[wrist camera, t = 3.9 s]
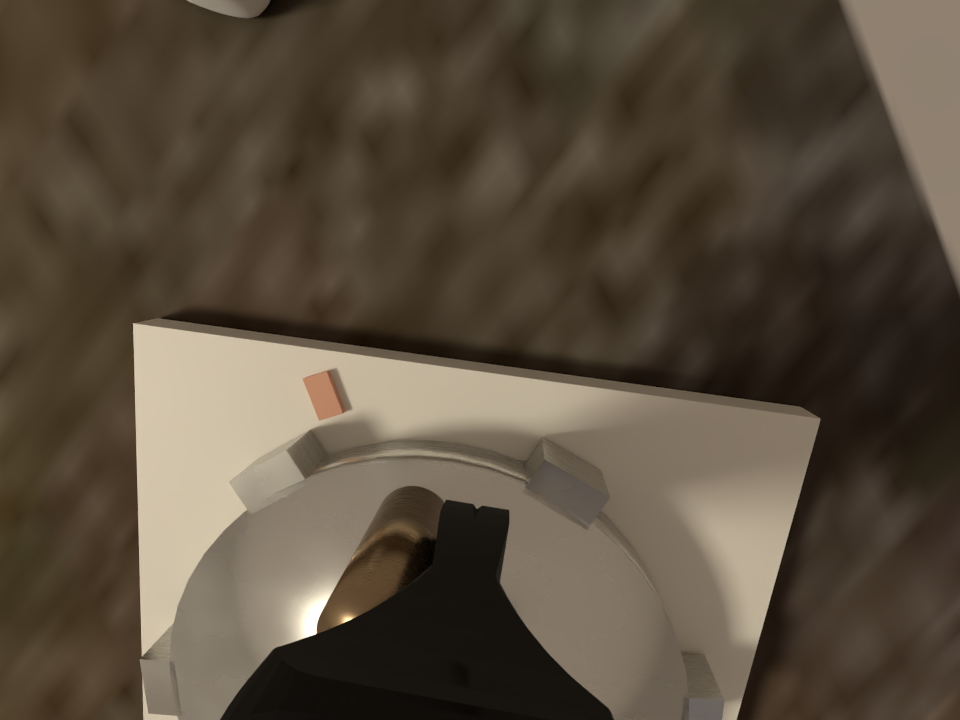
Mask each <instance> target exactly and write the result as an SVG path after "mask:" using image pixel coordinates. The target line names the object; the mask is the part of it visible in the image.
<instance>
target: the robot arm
mask: <svg viewBox="0 0 960 720" xmlns="http://www.w3.org/2000/svg"><path fill="white" fill-rule="evenodd" d="M508 529H509V510H507V509H501V508H495V507H489V506H483V505H482V506H481V507H479V508H478V509H476V507H475V506H474V504H470V503H464V502H458V501H452V500H446V501H445V503H444V504H443V506H442V509H441V511H440V517H439V523H438V530H437V537H436V544H435V551H434V558H433V563H432V565H431V566H430V567H429V568H428V569H427V570H425V571H424V572H423V573H422V574H421V575H420V576H418V577H417V578H416V579H415V580H414V581H412V582H411V583H410V584H408V585H407V586H406V587H404V588H403V589H402V590H400V591H399V592H397V593H396V594H394V595H393V596H391V597H390V598H388V599H387V600H385V601H384V602H382V603H381V604H379V605H377V606H376V607H374V608H373V609H371V610H369V611H367V612H365V613H363V614H361V615H359V616H357V617H355V618H353V619H351V620H349V621H347V622H344V623H342V624H340V625H338V626H335V627H333V628H331V629H328V630H326V631H323V632H321V633H318V634H315V635H312V636H309V637H306V638H303V639H300V640H298V641H295V642H292V643H289V644H286V645H283V646H279V647H276V648H274V649H273V650H272V651H271V652H270V654H269V655H268V656H267V657H266V658H265V660H264V661H263V662H262V663H261V664H260V666H259V667H258V668H257V669H256V670H255V672H254V673H253V674H252V675H251V677H250V678H249V679H248V680H247V681H246V683H245V684H244V685H243V686H242V688H241V689H240V690H239V692H238V693H237V694H236V696H235V697H234V699H233V700H232V702H231V703H230V704H229V706H228V707H227V709H226V711H225V712H224V714H223V716H222V717H221V719H220V720H614V718H613V716H612V713H611V711H610V710H609V708H608V707H607V706H605V705H604V704H603V703H602V702H601V701H599V700H598V699H597V698H596V697H595V696H594V695H592V694H591V693H590V692H589V691H588V690H587V689H585V688H584V687H583V686H582V685H581V684H579V683H578V682H577V681H576V680H575V679H574V678H572V677H571V676H570V675H569V674H568V673H567V672H566V671H565V670H564V669H563V668H562V667H561V666H560V665H559V664H558V663H557V662H556V661H555V660H554V659H553V658H552V657H551V656H550V654H549V653H548V652H547V651H546V650H545V649H544V648H543V646H542V645H541V644H540V643H539V641H538V640H537V639H536V638H535V637H534V635H533V634H532V633H531V632H530V630H529V629H528V628H527V626H526V625H525V624H524V622H523V621H522V619H521V618H520V616H519V615H518V613H517V612H516V610H515V608H514V607H513V605H512V604H511V602H510V600H509V599H508V597H507V595H506V593H505V591H504V590H503V588H502V586H501V584H500V578H501V572H502V566H503V560H504V554H505V548H506V541H507V535H508Z"/></svg>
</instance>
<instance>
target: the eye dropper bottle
mask: <svg viewBox="0 0 960 720" xmlns="http://www.w3.org/2000/svg"><path fill="white" fill-rule="evenodd" d="M187 1H189V2H191V3H194V4H196V5H198V6H201V7H203V8H206V9H209V10H211V11H215V12H218V13H221V14H225V15H230V16H234V17H240V18H252V17H256V16H259V15H260V14H261V13H262V12H263V11H264V10H265V9H266V8H267V6H268V4H269V3H270V1H271V0H187Z"/></svg>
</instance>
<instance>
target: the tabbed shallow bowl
mask: <svg viewBox="0 0 960 720" xmlns="http://www.w3.org/2000/svg"><path fill="white" fill-rule="evenodd" d="M229 484H230V485H231V487H232V488H233V489H234V491H235V492H236V494H237V495H238V497H239V498H240V500H241V501H242V503H243V504H244V505H245V507H246V508H247V509H246V510H245V511H244V512H243V513H242V514H241V515H240V516H239V517H238V518H237V519H236V520H234V521H233V522H232V523H231V524H230V525H229V526H228V527H227V528H226V529H225V530H224V531H223V532H222V533H221V535H220V536H219V537H218V538H217V539H216V540H215V542H214V543H213V544H212V545H211V546H210V547H209V549H208V550H207V551H206V552H205V553H204V555H203V556H202V558H201V560H200V561H199V563H198V565H197V566H196V568H195V569H194V571H193V573H192V574H191V576H190V578H189V579H188V582H187V584H186V587H185V589H184V592H183V594H182V597H181V599H180V601H179V604H178V607H177V611H176V615H175V620H174V623H173V624H172V625H171V626H170V627H169V628H168V629H167V630H166V631H165V633H164V634H163V635H162V636H161V637H160V638H159V639H158V640H157V641H156V642H155V643H154V644H153V645H152V647H151V648H150V649H149V650H148V651H147V652H146V653H145V654H144V655H143V656H142V657H141V658H140V664H141V671H142V677H143V683H144V689H145V696H146V702H147V708H148V714H159V715H172V716H177V717H178V720H220V719H221V717H222V716H223V714H224V712H225V711H226V709H227V707H228V706H229V704H230V703H231V702H232V700H233V699H234V697H235V696H236V694H237V693H238V692H239V690H240V689H241V688H242V686H243V685H244V684H245V683H246V681H247V680H248V679H249V678H250V677H251V675H252V674H253V673H254V672H255V670H256V669H257V668H258V667H259V666H260V664H261V663H262V662H263V661H264V660H265V658H266V657H267V656H268V655H269V654H270V652H271V651H272V650H273V649H274V648H276V647H279V646H283V645H286V644H289V643H292V642H295V641H298V640H300V639H303V638H306V637H309V636H312V635H315V634H318V633H321V632H323V631H326V630H328V629H331V628H333V627H335V626H338V625H340V624H342V623H344V622H347V621H349V620H351V619H353V618H355V617H357V616H359V615H361V614H363V613H365V612H367V611H369V610H371V609H373V608H374V607H376V606H377V605H379V604H381V603H382V602H384V601H385V600H387V599H388V598H390V597H391V596H393V595H394V594H396V593H397V592H399V591H400V590H402V589H403V588H404V587H406V586H407V585H408V584H410V583H411V582H412V581H414V580H415V579H416V578H417V577H418V576H420V575H421V574H422V573H423V572H424V571H425V570H427V569H428V568H429V567H430V566H431V565H432V563H433V558H434V551H435V544H436V537H437V530H438V523H439V517H440V511H441V509H442V506H443V504H444V503H445V501H446V500H452V501H458V502H464V503H470V504H474V506H475V507H476V509H478V508H479V507H481V506H482V505H483V506H489V507H495V508H501V509H507V510H509V529H508V535H507V541H506V548H505V554H504V560H503V566H502V572H501V578H500V584H501V586H502V588H503V590H504V591H505V593H506V595H507V597H508V599H509V600H510V602H511V604H512V605H513V607H514V608H515V610H516V612H517V613H518V615H519V616H520V618H521V619H522V621H523V622H524V624H525V625H526V626H527V628H528V629H529V630H530V632H531V633H532V634H533V635H534V637H535V638H536V639H537V640H538V641H539V643H540V644H541V645H542V646H543V648H544V649H545V650H546V651H547V652H548V653H549V654H550V656H551V657H552V658H553V659H554V660H555V661H556V662H557V663H558V664H559V665H560V666H561V667H562V668H563V669H564V670H565V671H566V672H567V673H568V674H569V675H570V676H571V677H572V678H574V679H575V680H576V681H577V682H578V683H579V684H581V685H582V686H583V687H584V688H585V689H587V690H588V691H589V692H590V693H591V694H592V695H594V696H595V697H596V698H597V699H598V700H599V701H601V702H602V703H603V704H604V705H605V706H607V707H608V708H609V710H610V711H611V713H612V716H613V718H614V720H722V716H723V708H724V698H723V696H722V693H721V691H720V689H719V687H718V684H717V682H716V680H715V677H714V675H713V673H712V670H711V668H710V666H709V663H708V661H707V659H706V657H705V655H693V654H681V651H680V648H679V645H678V641H677V638H676V635H675V632H674V630H673V627H672V624H671V622H670V619H669V617H668V614H667V611H666V609H665V606H664V603H663V601H662V598H661V596H660V594H659V591H658V589H657V587H656V585H655V583H654V581H653V579H652V577H651V575H650V572H649V570H648V568H647V567H646V565H645V564H644V562H643V561H642V559H641V558H640V556H639V555H638V553H637V552H636V550H635V549H634V547H633V546H632V544H631V543H630V542H629V541H628V539H627V538H626V537H625V536H624V535H623V534H622V533H621V531H620V530H619V529H618V528H617V527H616V526H615V525H614V523H613V522H612V521H611V520H610V519H609V518H608V517H607V516H606V515H605V514H603V513H602V512H601V510H602V508H603V507H604V506H605V504H606V503H607V501H608V500H609V499H610V495H609V492H608V489H607V486H606V483H605V480H604V477H603V474H602V471H601V470H599V469H597V468H596V467H594V466H592V465H590V464H589V463H587V462H585V461H584V460H582V459H580V458H578V457H577V456H575V455H573V454H572V453H570V452H568V451H566V450H565V449H563V448H561V447H560V446H558V445H556V444H554V443H553V442H551V441H549V440H548V439H546V438H544V437H542V438H541V440H540V441H539V443H538V444H537V446H536V447H535V449H534V450H533V452H532V453H531V455H530V456H529V458H528V460H527V461H526V463H525V462H523V461H520V460H517V459H514V458H511V457H509V456H506V455H503V454H500V453H497V452H494V451H491V450H487V449H482V448H478V447H473V446H469V445H464V444H460V443H450V442H440V441H429V440H410V441H388V442H382V443H376V444H369V445H363V446H358V447H354V448H351V449H347V450H344V451H341V452H337V453H334V454H331V455H327V454H326V452H325V451H324V449H323V448H322V446H321V445H320V443H319V442H318V440H317V439H316V437H315V435H314V434H313V432H312V431H311V429H310V430H308V431H306V432H305V433H303V434H301V435H299V436H297V437H296V438H294V439H292V440H290V441H288V442H287V443H285V444H283V445H281V446H279V447H278V448H276V449H274V450H272V451H270V452H269V453H267V454H265V455H263V456H261V457H260V458H258V459H257V460H255V461H254V462H253V463H252V464H250V465H249V466H248V467H247V468H245V469H244V470H243V471H242V472H240V473H239V474H238V475H237V476H235V477H234V478H233V479H232V480H230V481H229Z"/></svg>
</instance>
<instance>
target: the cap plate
mask: <svg viewBox="0 0 960 720" xmlns="http://www.w3.org/2000/svg"><path fill="white" fill-rule="evenodd" d="M133 331H134V369H135V408H136V446H137V485H138V523H139V562H140V600H141V639H142V656H143V655H144V654H145V653H146V652H147V651H148V650H149V649H150V648H151V647H152V645H153V644H154V643H155V642H156V641H157V640H158V639H159V638H160V637H161V636H162V635H163V634H164V633H165V631H166V630H167V629H168V628H169V627H170V626H171V625H172V624H173V623H174V620H175V615H176V611H177V607H178V604H179V601H180V599H181V597H182V594H183V592H184V589H185V587H186V584H187V582H188V579H189V578H190V576H191V574H192V573H193V571H194V569H195V568H196V566H197V565H198V563H199V561H200V560H201V558H202V556H203V555H204V553H205V552H206V551H207V550H208V549H209V547H210V546H211V545H212V544H213V543H214V542H215V540H216V539H217V538H218V537H219V536H220V535H221V533H222V532H223V531H224V530H225V529H226V528H227V527H228V526H229V525H230V524H231V523H232V522H233V521H234V520H236V519H237V518H238V517H239V516H240V515H241V514H242V513H243V512H244V511H245V510H246V509H247V508H246V507H245V505H244V504H243V503H242V501H241V500H240V498H239V497H238V495H237V494H236V492H235V491H234V489H233V488H232V487H231V485H230V484H229V481H230V480H232V479H233V478H234V477H235V476H237V475H238V474H239V473H240V472H242V471H243V470H244V469H245V468H247V467H248V466H249V465H250V464H252V463H253V462H254V461H255V460H257V459H258V458H260V457H261V456H263V455H265V454H267V453H269V452H270V451H272V450H274V449H276V448H278V447H279V446H281V445H283V444H285V443H287V442H288V441H290V440H292V439H294V438H296V437H297V436H299V435H301V434H303V433H305V432H306V431H308V430H310V429H311V431H312V432H313V434H314V435H315V437H316V439H317V440H318V442H319V443H320V445H321V446H322V448H323V449H324V451H325V452H326V454H327V455H331V454H334V453H337V452H341V451H344V450H347V449H351V448H354V447H358V446H363V445H369V444H376V443H382V442H388V441H410V440H429V441H440V442H450V443H460V444H464V445H469V446H473V447H478V448H482V449H487V450H491V451H494V452H497V453H500V454H503V455H506V456H509V457H511V458H514V459H517V460H520V461H523V462H525V463H526V461H527V460H528V458H529V456H530V455H531V453H532V452H533V450H534V449H535V447H536V446H537V444H538V443H539V441H540V440H541V438H542V437H544V438H546V439H548V440H549V441H551V442H553V443H554V444H556V445H558V446H560V447H561V448H563V449H565V450H566V451H568V452H570V453H572V454H573V455H575V456H577V457H578V458H580V459H582V460H584V461H585V462H587V463H589V464H590V465H592V466H594V467H596V468H597V469H599V470H601V471H602V474H603V477H604V480H605V483H606V486H607V489H608V492H609V495H610V499H609V500H608V501H607V503H606V504H605V506H604V507H603V508H602V510H601V512H602V513H603V514H605V515H606V516H607V517H608V518H609V519H610V520H611V521H612V522H613V523H614V525H615V526H616V527H617V528H618V529H619V530H620V531H621V533H622V534H623V535H624V536H625V537H626V538H627V539H628V541H629V542H630V543H631V544H632V546H633V547H634V549H635V550H636V552H637V553H638V555H639V556H640V558H641V559H642V561H643V562H644V564H645V565H646V567H647V568H648V570H649V572H650V575H651V577H652V579H653V581H654V583H655V585H656V587H657V589H658V591H659V594H660V596H661V598H662V601H663V603H664V606H665V609H666V611H667V614H668V617H669V619H670V622H671V624H672V627H673V630H674V632H675V635H676V638H677V641H678V645H679V648H680V651H681V654H693V655H705V657H706V659H707V661H708V663H709V666H710V668H711V670H712V673H713V675H714V677H715V680H716V682H717V684H718V687H719V689H720V691H721V693H722V696H723V698H724V708H723V716H722V720H737V716H738V713H739V709H740V706H741V702H742V699H743V695H744V691H745V688H746V684H747V681H748V677H749V674H750V670H751V666H752V663H753V659H754V656H755V652H756V649H757V645H758V641H759V638H760V634H761V631H762V627H763V624H764V620H765V616H766V613H767V609H768V606H769V602H770V599H771V595H772V591H773V588H774V584H775V581H776V577H777V574H778V570H779V566H780V563H781V559H782V556H783V552H784V549H785V545H786V541H787V538H788V534H789V531H790V527H791V523H792V520H793V516H794V513H795V509H796V506H797V502H798V498H799V495H800V491H801V488H802V484H803V481H804V477H805V473H806V470H807V466H808V463H809V459H810V456H811V452H812V448H813V445H814V441H815V438H816V434H817V431H818V427H819V423H820V420H821V419H820V418H819V417H817V416H815V415H814V414H812V413H810V412H809V411H807V410H805V409H804V408H802V407H799V406H792V405H784V404H777V403H770V402H762V401H755V400H748V399H741V398H733V397H726V396H719V395H712V394H704V393H697V392H690V391H683V390H675V389H668V388H661V387H654V386H646V385H639V384H632V383H625V382H617V381H610V380H603V379H595V378H588V377H581V376H574V375H566V374H559V373H552V372H545V371H537V370H530V369H523V368H516V367H508V366H501V365H494V364H487V363H479V362H472V361H465V360H458V359H450V358H443V357H436V356H428V355H421V354H414V353H407V352H399V351H392V350H385V349H378V348H370V347H363V346H356V345H349V344H341V343H334V342H327V341H320V340H312V339H305V338H298V337H291V336H283V335H276V334H269V333H262V332H254V331H247V330H240V329H232V328H225V327H218V326H211V325H203V324H196V323H189V322H182V321H174V320H167V319H160V318H157V319H153V320H148V321H143V322H138V323H133ZM143 716H144V720H178V717H177V716H172V715H159V714H148V708H147V702H146V696H145V689H144V683H143Z"/></svg>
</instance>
